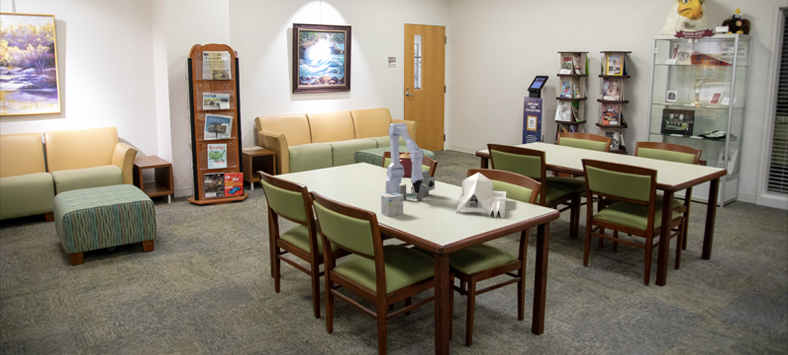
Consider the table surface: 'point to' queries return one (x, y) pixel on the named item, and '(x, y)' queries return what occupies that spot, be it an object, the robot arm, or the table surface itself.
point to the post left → (403, 190)
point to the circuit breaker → (425, 182)
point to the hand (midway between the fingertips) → (417, 192)
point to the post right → (421, 192)
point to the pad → (411, 196)
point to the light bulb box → (392, 204)
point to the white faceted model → (481, 196)
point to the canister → (406, 164)
